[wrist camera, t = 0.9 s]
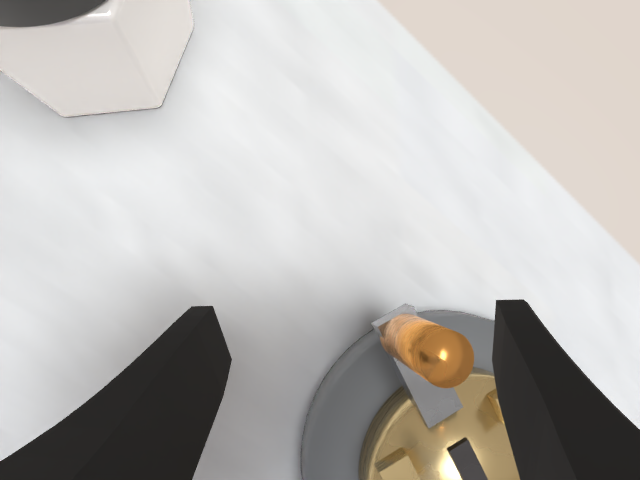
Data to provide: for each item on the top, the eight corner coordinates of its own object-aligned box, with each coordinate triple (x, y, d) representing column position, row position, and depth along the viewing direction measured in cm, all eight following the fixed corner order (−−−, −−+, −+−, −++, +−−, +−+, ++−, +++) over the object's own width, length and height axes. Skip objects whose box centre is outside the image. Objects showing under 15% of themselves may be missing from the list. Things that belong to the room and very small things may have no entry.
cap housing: (519, 610, 26) (542, 640, 25) (263, 558, 24) (265, 586, 22) (589, 352, 27) (617, 360, 25) (350, 275, 25) (360, 278, 23)
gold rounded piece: (574, 496, 25) (702, 591, 18) (414, 607, 23) (488, 757, 16) (460, 260, 24) (550, 266, 17) (284, 358, 22) (306, 408, 15)
